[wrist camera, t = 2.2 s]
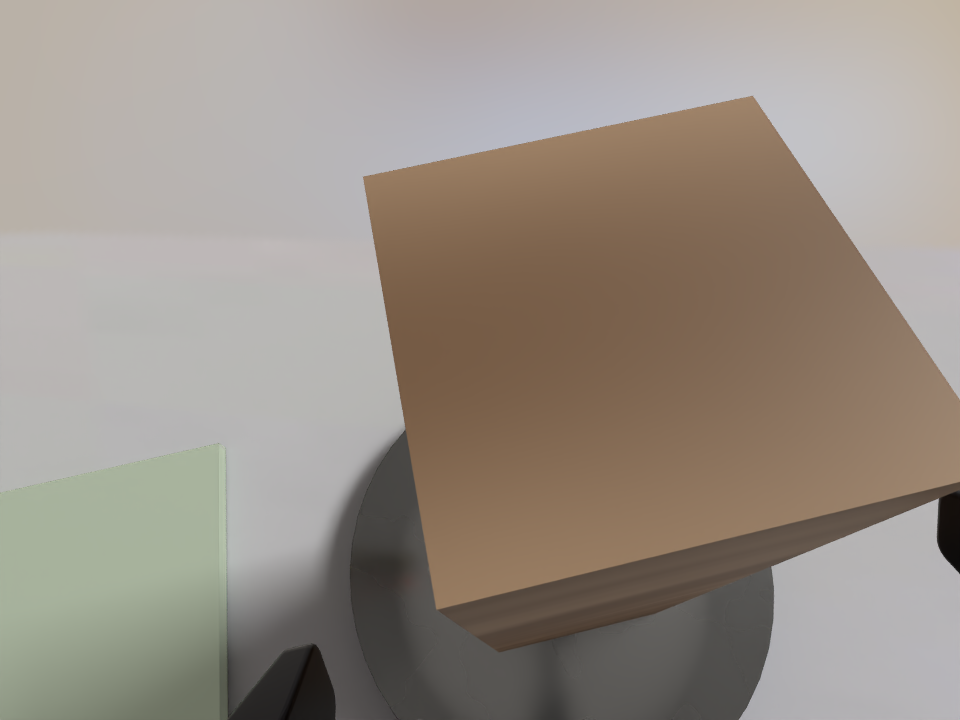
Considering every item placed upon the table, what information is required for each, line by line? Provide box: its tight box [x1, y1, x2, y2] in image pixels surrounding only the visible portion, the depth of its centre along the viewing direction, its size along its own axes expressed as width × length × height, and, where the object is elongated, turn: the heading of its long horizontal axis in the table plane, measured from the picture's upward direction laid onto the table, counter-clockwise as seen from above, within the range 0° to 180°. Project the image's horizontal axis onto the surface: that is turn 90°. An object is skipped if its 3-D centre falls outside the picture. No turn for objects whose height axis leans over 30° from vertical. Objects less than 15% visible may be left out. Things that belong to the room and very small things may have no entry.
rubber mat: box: [0, 443, 228, 720], centre depth 17 cm, size 12×10×1 cm
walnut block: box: [363, 96, 960, 652], centre depth 11 cm, size 4×4×13 cm
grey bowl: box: [350, 430, 774, 720], centre depth 15 cm, size 12×12×5 cm
